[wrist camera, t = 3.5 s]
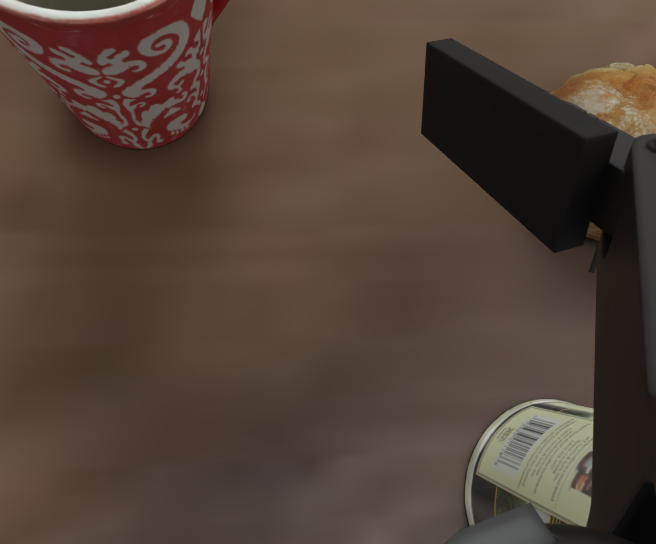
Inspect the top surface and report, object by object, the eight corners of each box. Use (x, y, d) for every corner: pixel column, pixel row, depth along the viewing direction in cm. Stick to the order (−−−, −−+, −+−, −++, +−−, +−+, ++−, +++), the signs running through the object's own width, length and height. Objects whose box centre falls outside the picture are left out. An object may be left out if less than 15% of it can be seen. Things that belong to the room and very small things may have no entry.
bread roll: (475, 169, 36) (506, 178, 28) (582, 33, 33) (649, 1, 25) (590, 256, 36) (651, 288, 29) (702, 129, 34) (802, 126, 26)
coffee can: (604, 610, 30) (929, 844, 16) (439, 557, 28) (640, 763, 15) (647, 430, 32) (971, 502, 18) (493, 372, 30) (718, 401, 17)
